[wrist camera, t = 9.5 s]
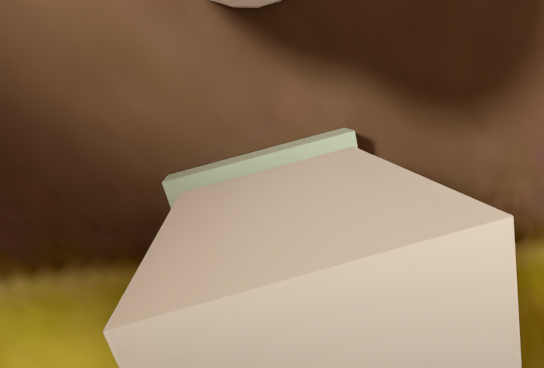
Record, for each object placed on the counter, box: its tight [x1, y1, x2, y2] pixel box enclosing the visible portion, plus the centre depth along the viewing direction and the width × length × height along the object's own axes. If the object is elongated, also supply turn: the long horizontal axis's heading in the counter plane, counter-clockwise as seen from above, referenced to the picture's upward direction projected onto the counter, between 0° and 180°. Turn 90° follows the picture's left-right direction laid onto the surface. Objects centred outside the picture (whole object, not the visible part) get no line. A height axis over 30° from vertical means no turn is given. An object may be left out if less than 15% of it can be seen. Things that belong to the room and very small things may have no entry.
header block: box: [162, 128, 358, 208], centre depth 16 cm, size 9×14×6 cm, turn 14°
